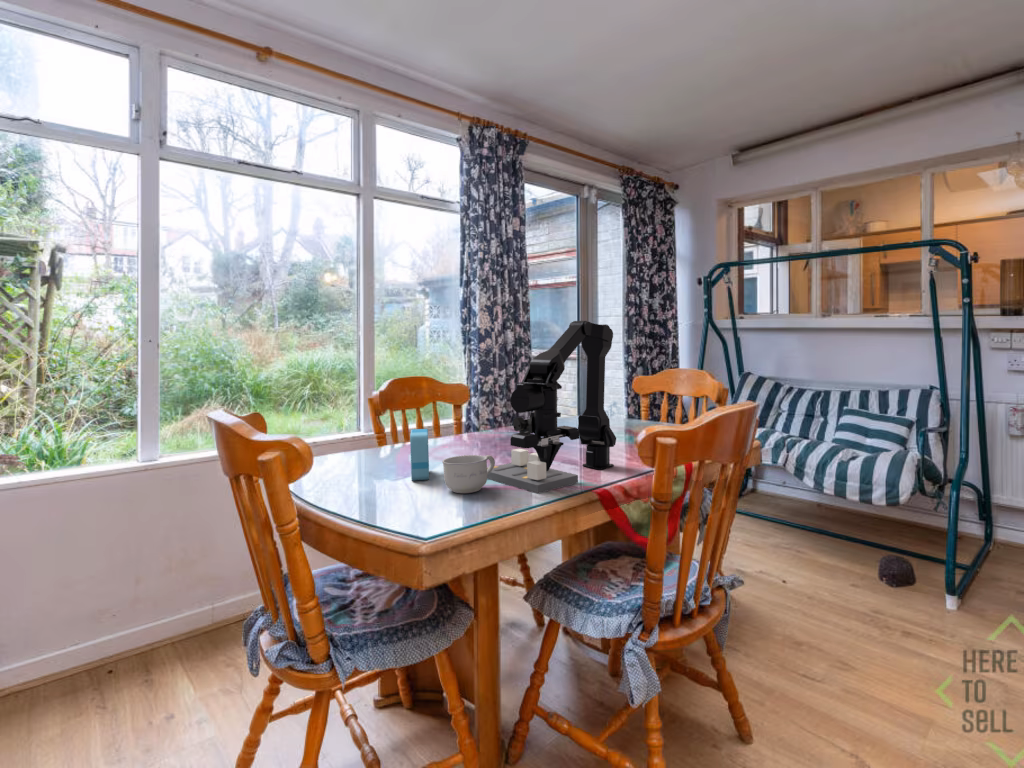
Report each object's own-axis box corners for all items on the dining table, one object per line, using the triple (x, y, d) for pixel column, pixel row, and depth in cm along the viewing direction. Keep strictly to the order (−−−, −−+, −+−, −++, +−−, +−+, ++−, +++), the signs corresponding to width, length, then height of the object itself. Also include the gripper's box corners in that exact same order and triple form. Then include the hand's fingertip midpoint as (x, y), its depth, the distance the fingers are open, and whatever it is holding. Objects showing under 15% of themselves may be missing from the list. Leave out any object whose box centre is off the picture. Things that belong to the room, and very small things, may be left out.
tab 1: (519, 462, 159) (519, 448, 159) (528, 464, 157) (528, 450, 156) (511, 463, 158) (511, 450, 157) (520, 466, 155) (520, 452, 154)
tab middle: (537, 466, 154) (537, 452, 154) (546, 468, 151) (546, 454, 151) (528, 468, 152) (528, 453, 152) (538, 470, 150) (538, 456, 149)
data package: (429, 481, 150) (427, 435, 149) (411, 482, 149) (410, 436, 148) (429, 470, 162) (427, 427, 161) (412, 471, 161) (411, 428, 160)
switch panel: (519, 468, 163) (519, 460, 162) (577, 482, 146) (577, 474, 146) (480, 476, 154) (480, 469, 153) (537, 493, 137) (537, 484, 137)
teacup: (453, 499, 133) (452, 465, 133) (436, 488, 143) (436, 456, 142) (507, 490, 140) (506, 458, 139) (487, 480, 149) (487, 450, 149)
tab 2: (536, 475, 144) (536, 460, 144) (546, 478, 142) (546, 462, 141) (527, 477, 142) (527, 462, 142) (537, 480, 140) (537, 464, 139)
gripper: (549, 402, 155) (549, 460, 156) (495, 409, 143) (496, 471, 144) (580, 406, 146) (580, 466, 148) (525, 413, 134) (526, 479, 136)
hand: (546, 470), depth 144 cm, fingers closed
